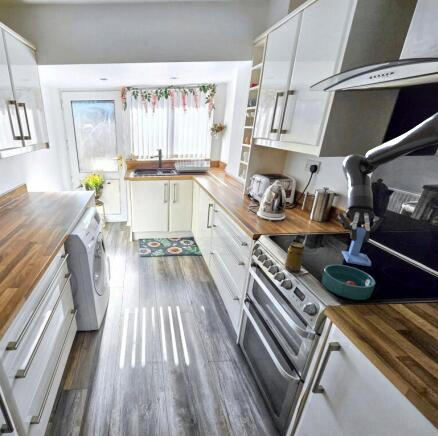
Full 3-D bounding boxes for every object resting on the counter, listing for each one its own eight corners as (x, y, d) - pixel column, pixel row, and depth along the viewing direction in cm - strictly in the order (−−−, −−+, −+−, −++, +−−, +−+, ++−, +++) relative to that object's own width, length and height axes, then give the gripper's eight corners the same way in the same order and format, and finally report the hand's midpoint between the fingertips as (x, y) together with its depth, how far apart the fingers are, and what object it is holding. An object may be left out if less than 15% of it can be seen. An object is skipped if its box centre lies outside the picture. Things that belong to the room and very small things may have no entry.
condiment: (291, 263, 112) (296, 240, 108) (308, 272, 105) (314, 248, 100) (279, 266, 110) (284, 243, 106) (296, 276, 102) (301, 251, 98)
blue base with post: (341, 252, 93) (348, 226, 89) (363, 255, 90) (371, 228, 86) (346, 262, 86) (355, 235, 82) (370, 266, 83) (380, 238, 79)
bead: (358, 283, 92) (356, 284, 90) (354, 290, 93) (353, 291, 90) (348, 279, 94) (346, 279, 92) (344, 286, 95) (342, 287, 93)
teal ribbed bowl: (363, 281, 97) (367, 269, 95) (376, 305, 85) (381, 291, 82) (318, 273, 104) (321, 261, 102) (324, 294, 91) (328, 281, 89)
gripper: (340, 193, 92) (339, 234, 86) (387, 196, 86) (390, 240, 80) (334, 202, 98) (333, 241, 93) (378, 205, 93) (379, 247, 87)
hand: (359, 240), depth 87 cm, fingers closed on blue base with post, 2 cm apart
